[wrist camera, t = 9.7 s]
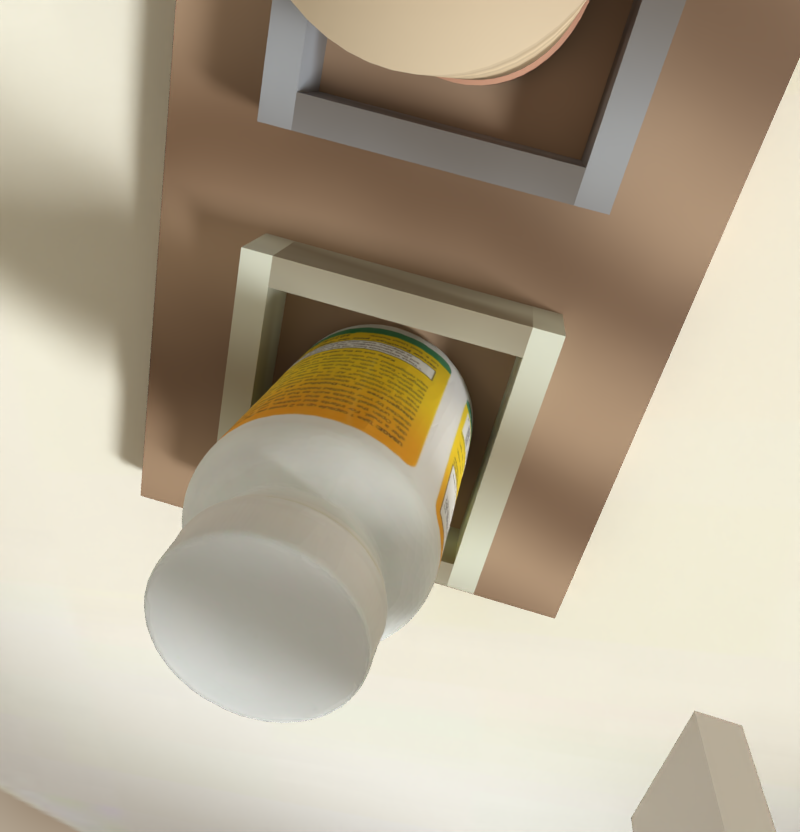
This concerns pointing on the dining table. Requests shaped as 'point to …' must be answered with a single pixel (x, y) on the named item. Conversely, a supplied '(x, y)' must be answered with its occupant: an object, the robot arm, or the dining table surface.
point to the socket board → (457, 241)
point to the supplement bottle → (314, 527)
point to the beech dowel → (448, 34)
